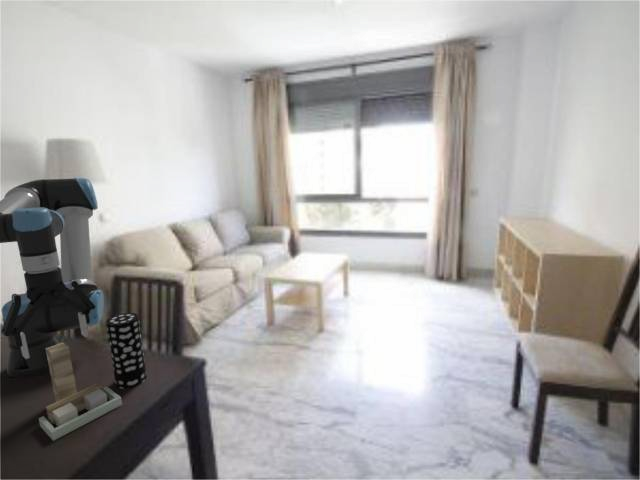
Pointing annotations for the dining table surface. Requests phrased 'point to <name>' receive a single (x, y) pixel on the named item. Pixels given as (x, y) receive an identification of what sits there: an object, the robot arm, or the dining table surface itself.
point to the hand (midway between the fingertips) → (57, 345)
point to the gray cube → (95, 399)
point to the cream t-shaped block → (64, 380)
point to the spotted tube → (126, 350)
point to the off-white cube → (64, 414)
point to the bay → (82, 416)
